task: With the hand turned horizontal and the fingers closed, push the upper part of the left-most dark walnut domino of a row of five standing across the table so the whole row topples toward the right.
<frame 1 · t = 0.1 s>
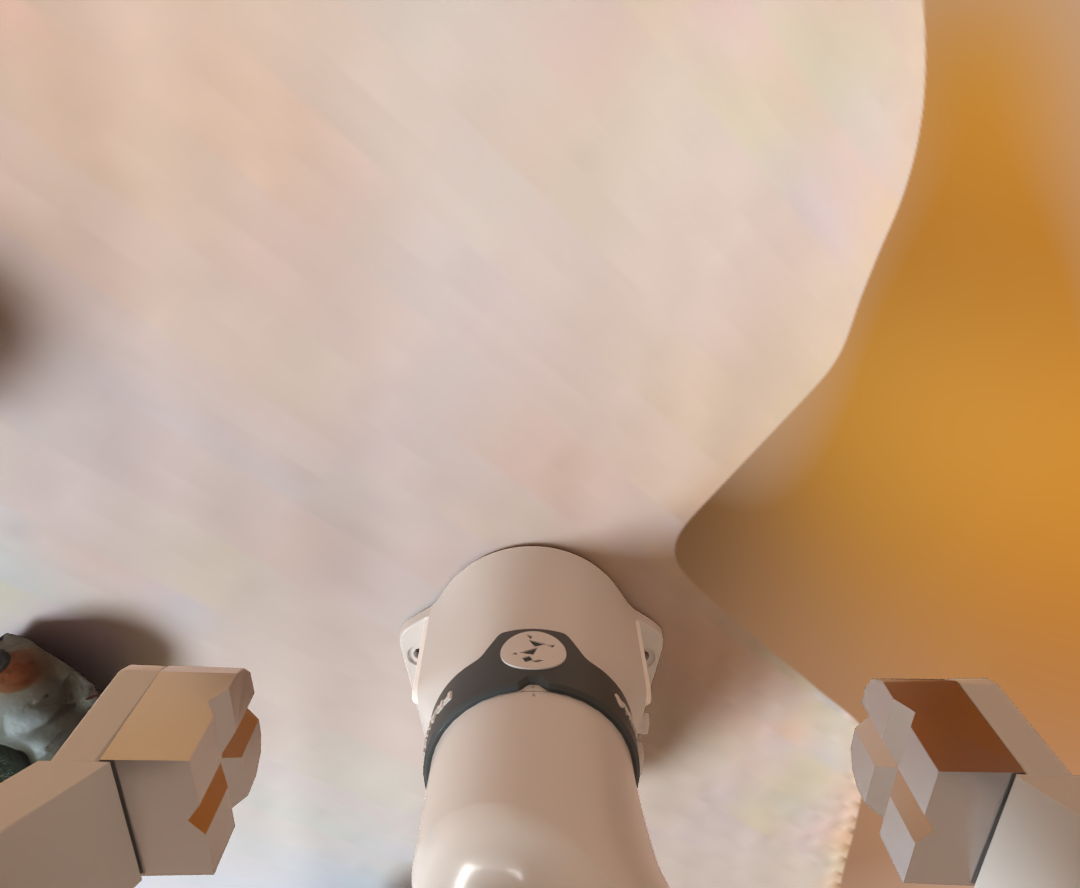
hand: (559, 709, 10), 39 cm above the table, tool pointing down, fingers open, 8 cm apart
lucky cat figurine: (50, 710, 56), on the table
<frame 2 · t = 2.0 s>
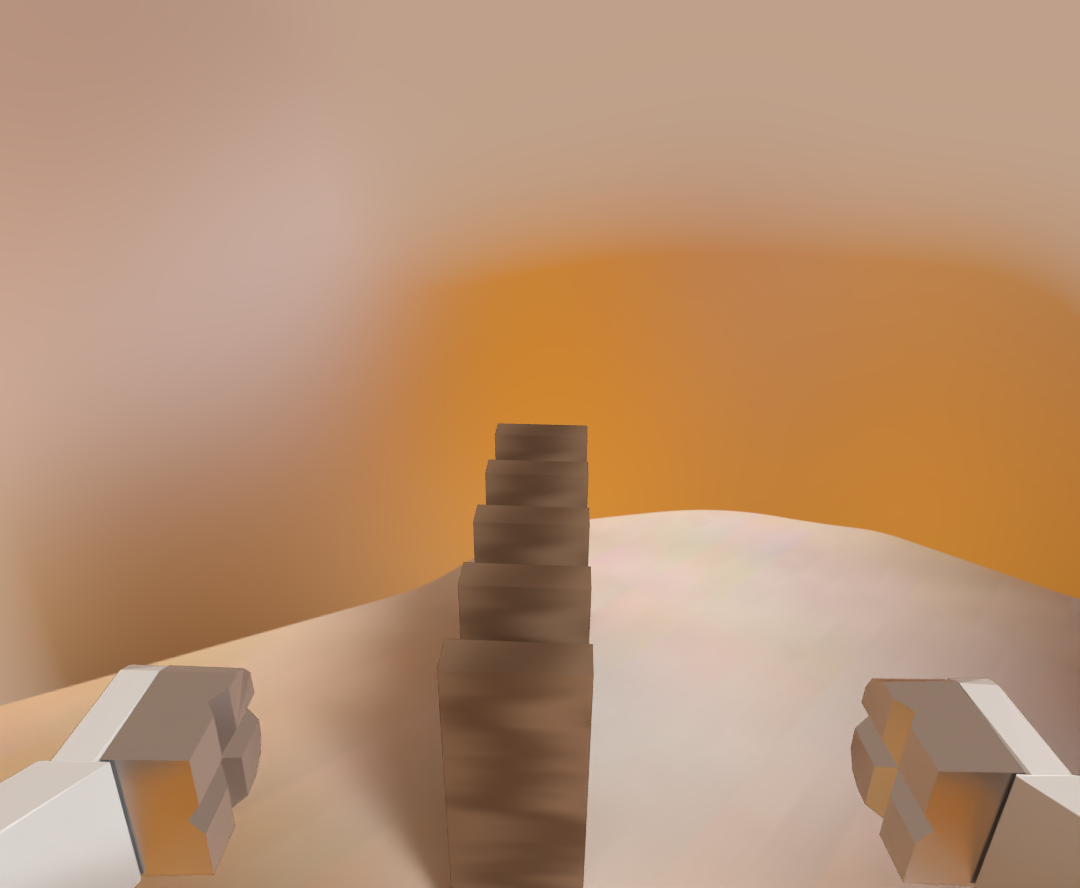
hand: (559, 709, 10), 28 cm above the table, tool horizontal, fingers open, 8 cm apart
domino 2: (525, 804, 41), on the table
domino 3: (531, 727, 46), on the table
domino 4: (536, 665, 51), on the table
domino 5: (539, 614, 56), on the table
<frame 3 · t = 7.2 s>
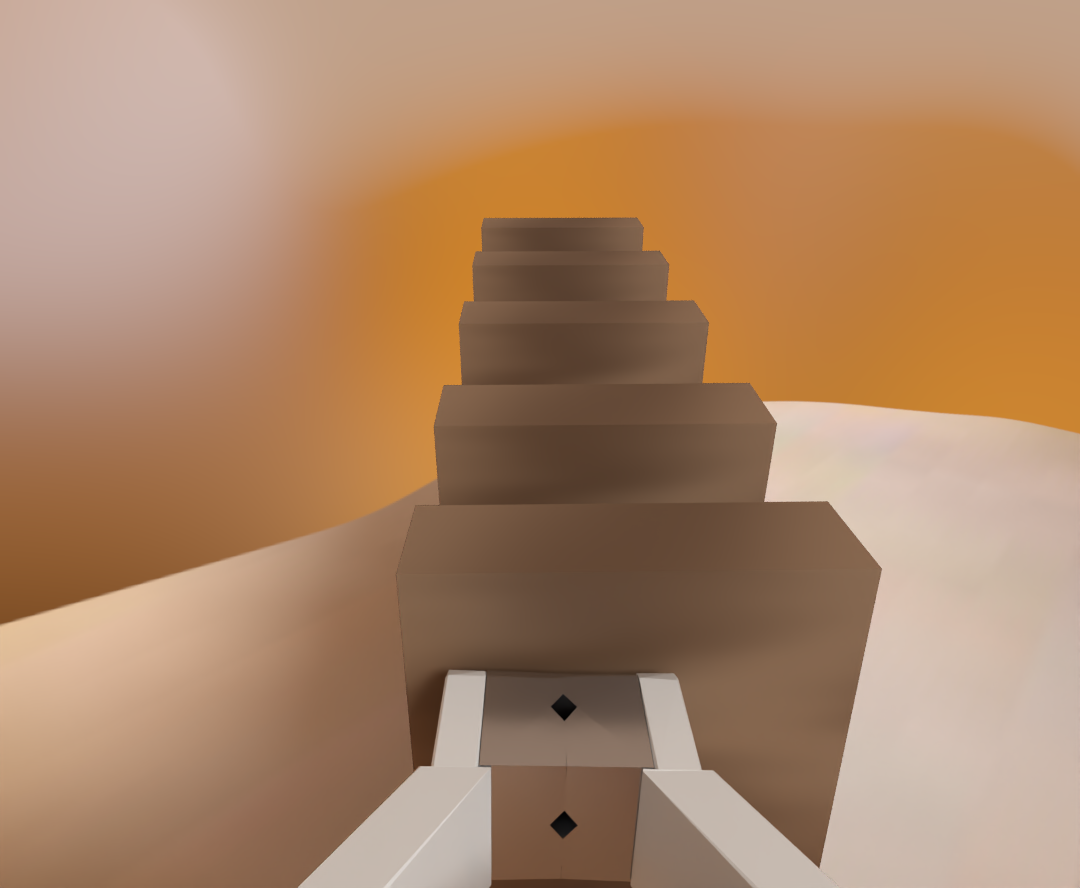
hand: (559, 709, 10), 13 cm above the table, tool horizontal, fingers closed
domino 3: (569, 734, 26), on the table
domino 4: (562, 625, 31), on the table
domino 5: (557, 546, 35), on the table
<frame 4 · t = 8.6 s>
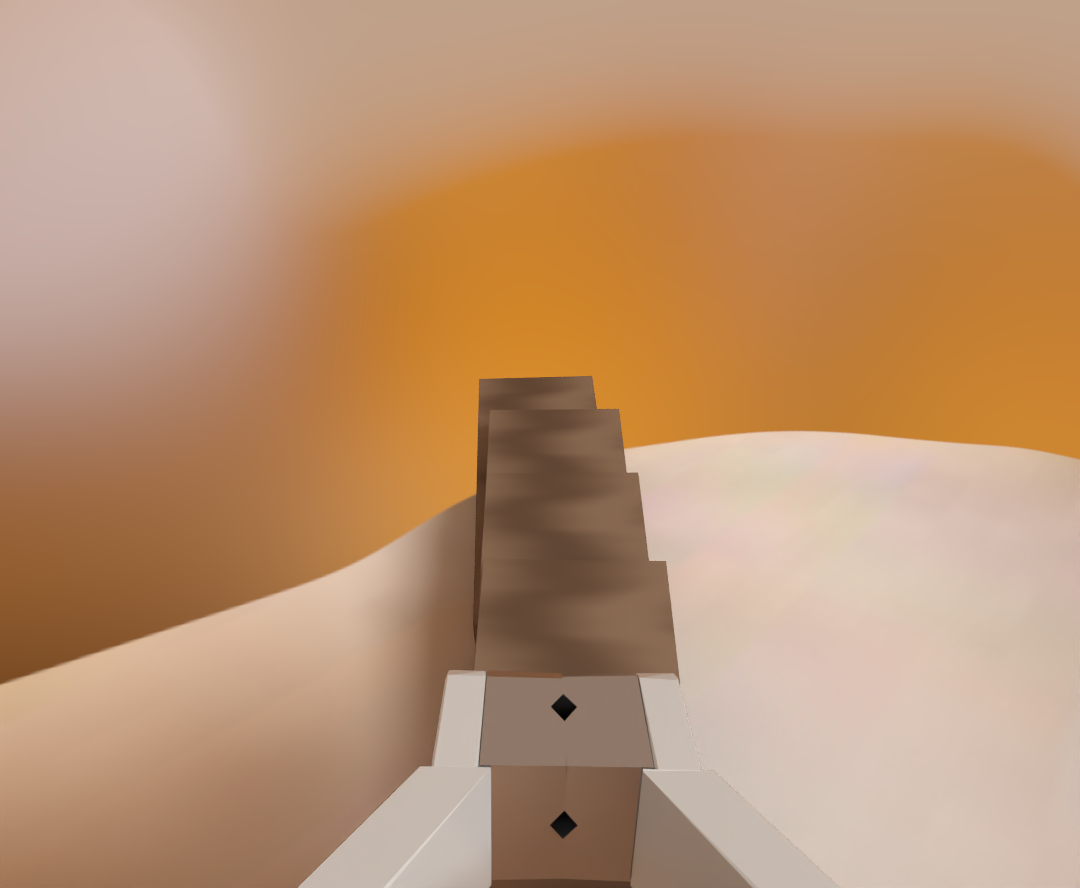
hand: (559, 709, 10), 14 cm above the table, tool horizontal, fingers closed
domino 3: (565, 738, 25), point 1 cm above the table, tilted 71°, touching domino 2, domino 4
domino 4: (550, 635, 30), point 1 cm above the table, tilted 73°, touching domino 3
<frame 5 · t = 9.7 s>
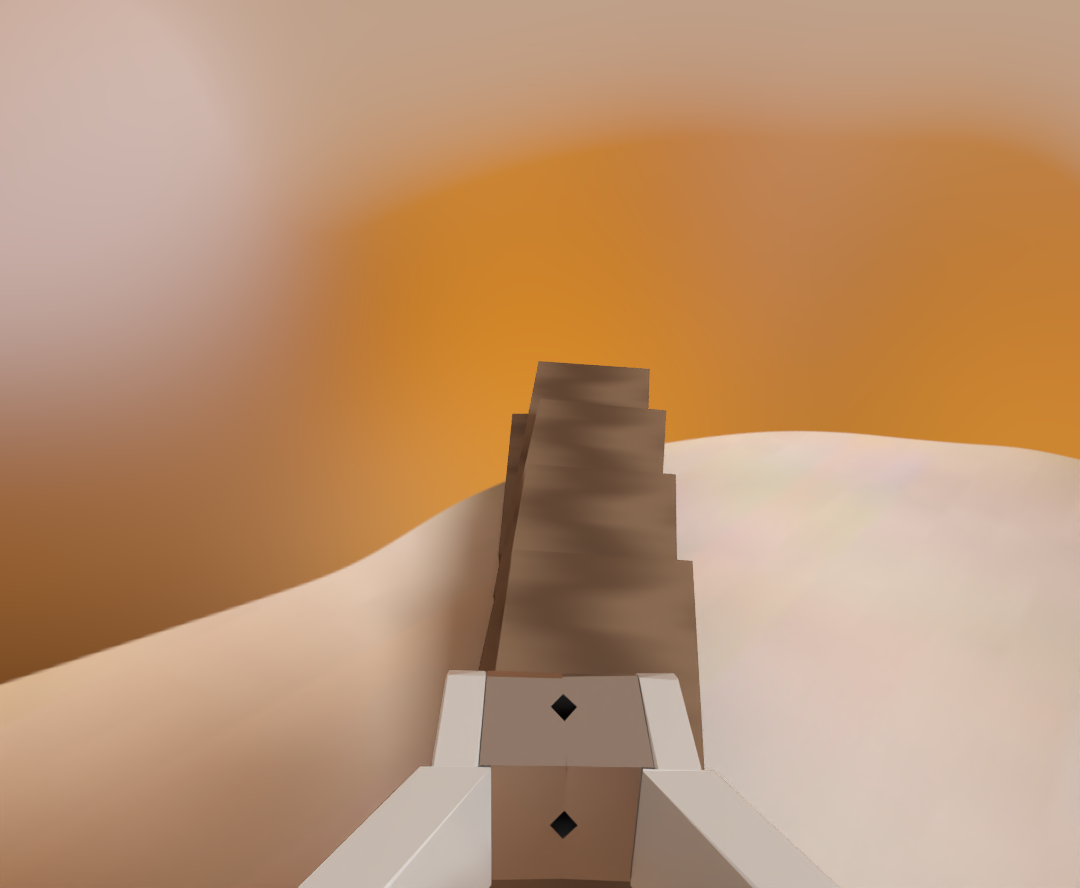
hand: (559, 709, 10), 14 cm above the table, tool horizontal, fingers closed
domino 3: (560, 715, 26), point 1 cm above the table, tilted 72°, touching domino 2, domino 4
domino 4: (566, 614, 31), point 1 cm above the table, tilted 72°, touching domino 3, domino 5
domino 5: (564, 570, 34), on the table, tilted 90°, touching domino 4
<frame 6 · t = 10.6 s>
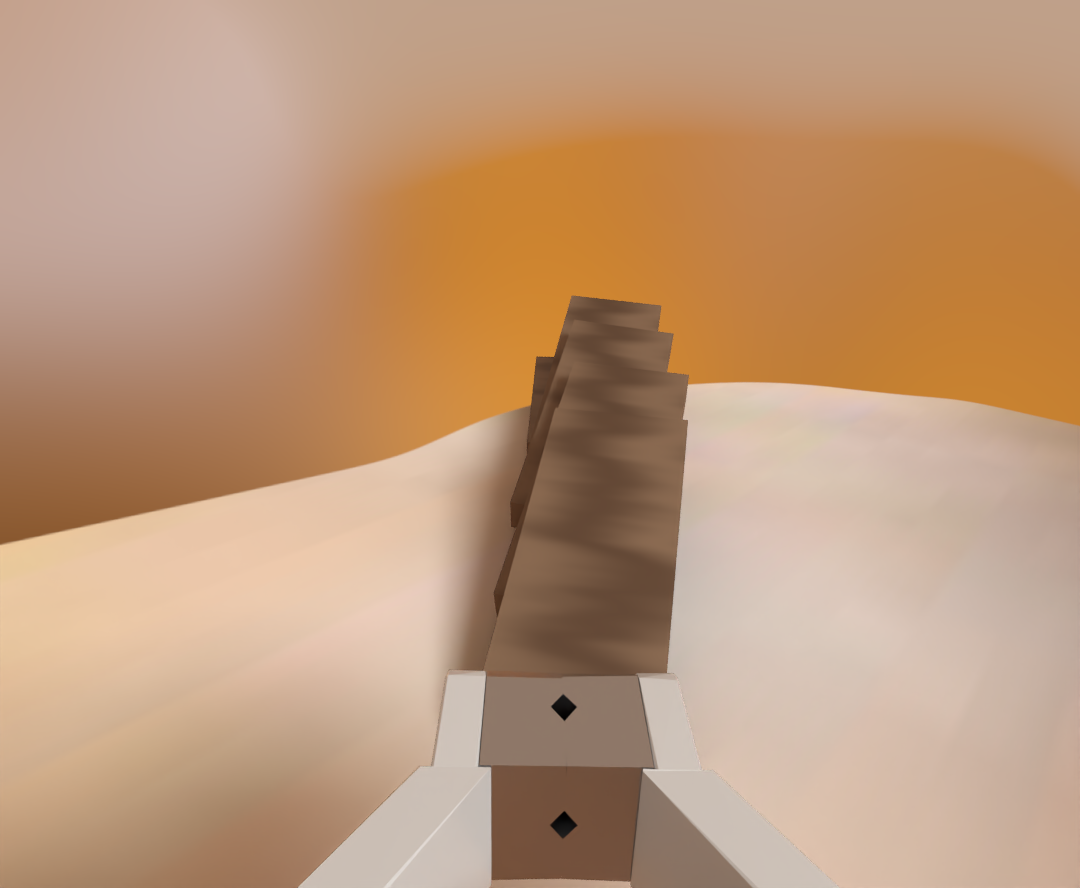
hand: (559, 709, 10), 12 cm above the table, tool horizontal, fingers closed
domino 2: (568, 620, 29), point 1 cm above the table, tilted 71°, touching domino 1, domino 3
domino 1: (564, 743, 24), point 1 cm above the table, tilted 71°, touching domino 2
domino 3: (572, 526, 35), point 1 cm above the table, tilted 71°, touching domino 2, domino 4
domino 4: (581, 471, 40), point 1 cm above the table, tilted 71°, touching domino 3, domino 5
domino 5: (578, 457, 43), on the table, tilted 90°, touching domino 4
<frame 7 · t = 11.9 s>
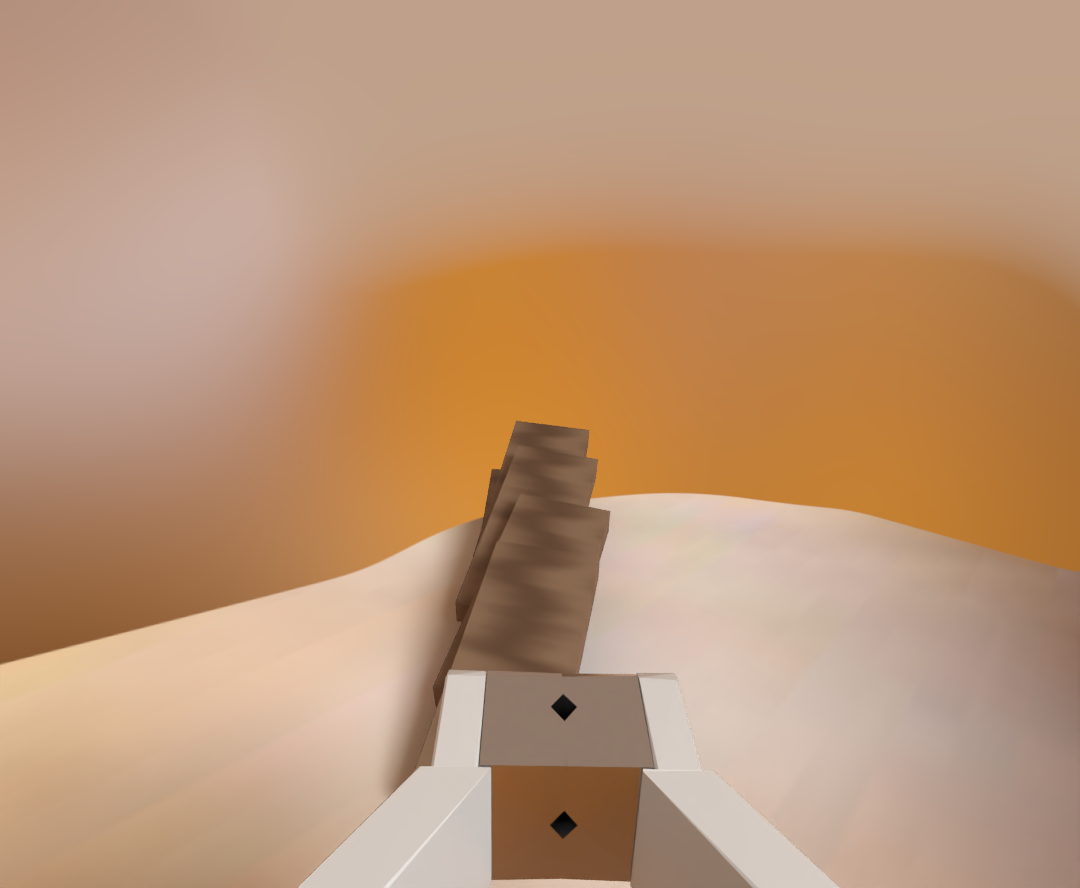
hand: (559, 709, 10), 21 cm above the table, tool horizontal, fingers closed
domino 2: (489, 711, 38), point 1 cm above the table, tilted 73°, touching domino 1, domino 3
domino 1: (476, 814, 32), point 1 cm above the table, tilted 72°, touching domino 2
domino 3: (504, 621, 45), point 1 cm above the table, tilted 72°, touching domino 2, domino 4
domino 4: (517, 570, 50), point 1 cm above the table, tilted 73°, touching domino 3, domino 5
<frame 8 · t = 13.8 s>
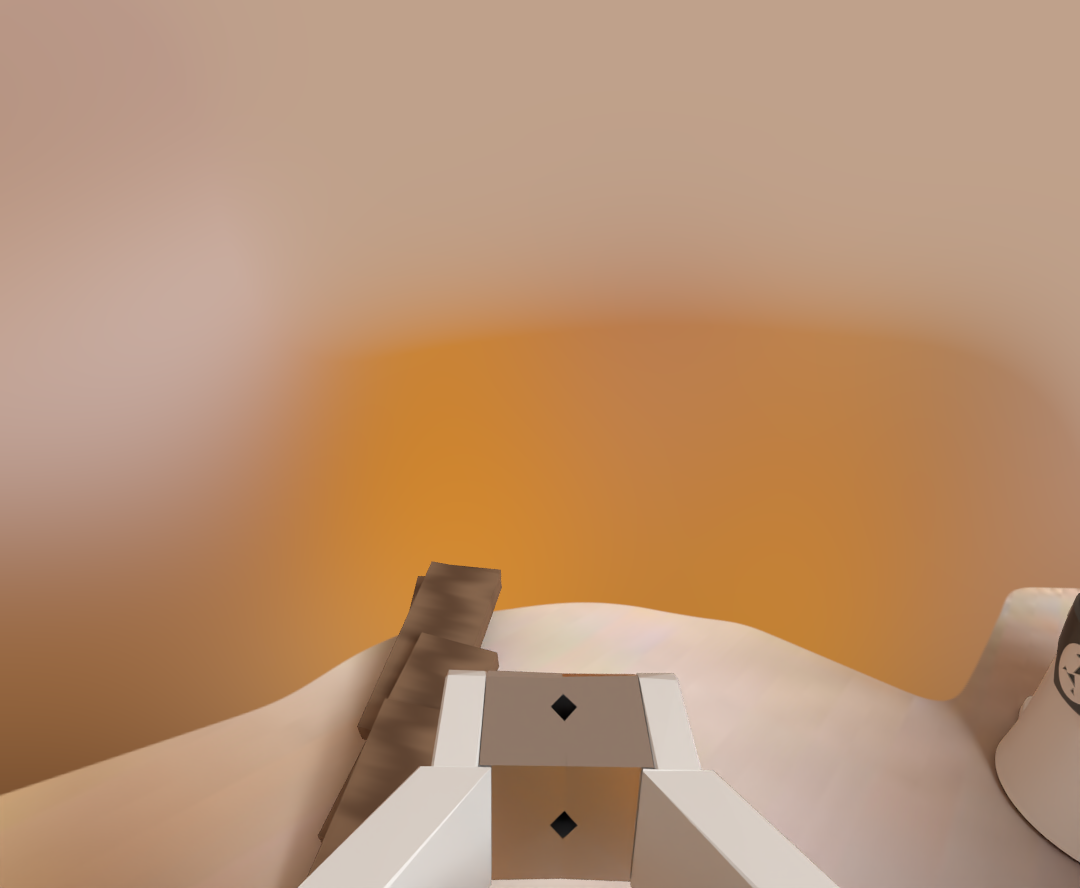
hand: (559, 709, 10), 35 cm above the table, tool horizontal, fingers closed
domino 2: (364, 857, 45), point 1 cm above the table, tilted 71°, touching domino 3
domino 3: (399, 742, 52), point 2 cm above the table, tilted 71°, touching domino 2, domino 4
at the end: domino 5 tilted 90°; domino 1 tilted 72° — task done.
